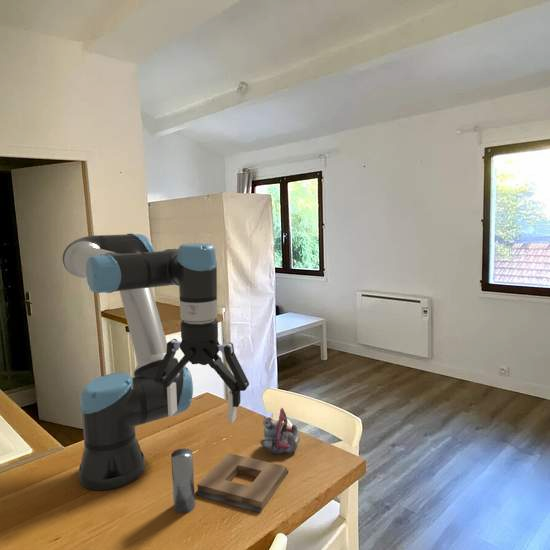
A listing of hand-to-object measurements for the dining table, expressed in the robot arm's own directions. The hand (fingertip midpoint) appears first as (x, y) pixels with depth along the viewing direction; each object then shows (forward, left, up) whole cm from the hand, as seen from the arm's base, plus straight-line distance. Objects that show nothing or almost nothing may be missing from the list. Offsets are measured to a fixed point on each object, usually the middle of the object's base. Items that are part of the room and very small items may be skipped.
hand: (202, 417), depth 92 cm
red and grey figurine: (+6, +27, -20) cm, 34 cm away
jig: (+5, +9, -19) cm, 22 cm away
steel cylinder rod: (-3, -3, -19) cm, 20 cm away
